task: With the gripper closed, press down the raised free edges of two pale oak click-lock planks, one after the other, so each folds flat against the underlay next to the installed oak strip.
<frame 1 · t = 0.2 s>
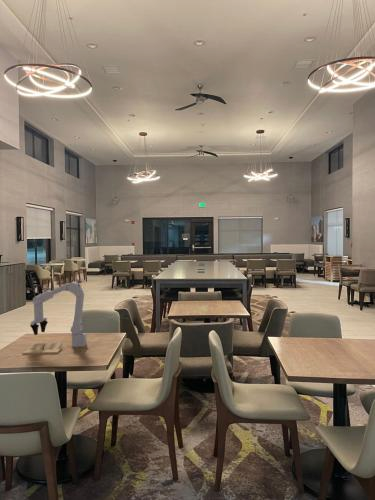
hand: (39, 333, 274), 10 cm above the table, fingers open, 7 cm apart
plank a: (53, 347, 266), point 2 cm above the table, hinge at 28.0°
plank b: (36, 347, 266), point 2 cm above the table, hinge at 28.0°
floor base: (43, 351, 264), on the table
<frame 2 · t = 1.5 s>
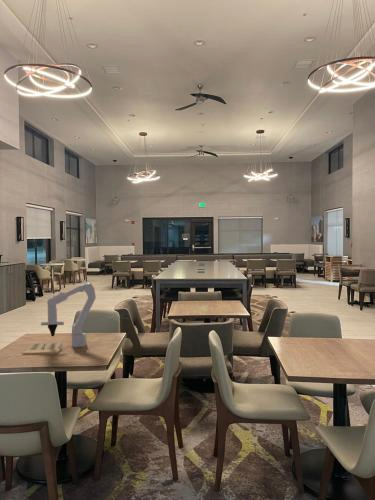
hand: (52, 335, 271), 9 cm above the table, fingers closed
nothing on the table moved.
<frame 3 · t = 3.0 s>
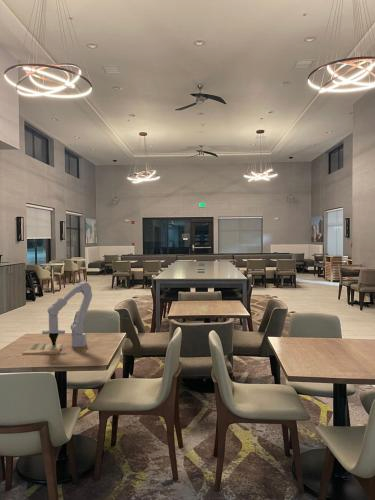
hand: (54, 344, 268), 3 cm above the table, fingers closed, pressing on plank a
plank a: (53, 347, 267), point 2 cm above the table, hinge at 19.5°, touching gripper
everything else where it was.
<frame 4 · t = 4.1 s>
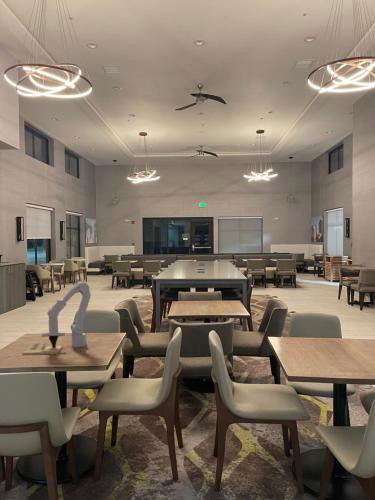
hand: (54, 347, 268), 2 cm above the table, fingers closed
plank a: (53, 348, 267), point 1 cm above the table, hinge at 2.1°
everything else where it was.
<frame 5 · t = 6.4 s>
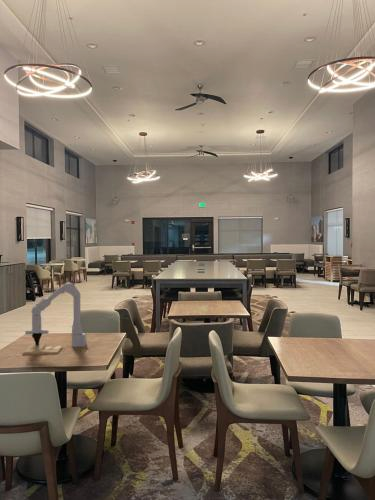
hand: (37, 344, 268), 4 cm above the table, fingers closed, pressing on plank b
plank b: (36, 347, 266), point 2 cm above the table, hinge at 23.5°, touching gripper
everything else where it was.
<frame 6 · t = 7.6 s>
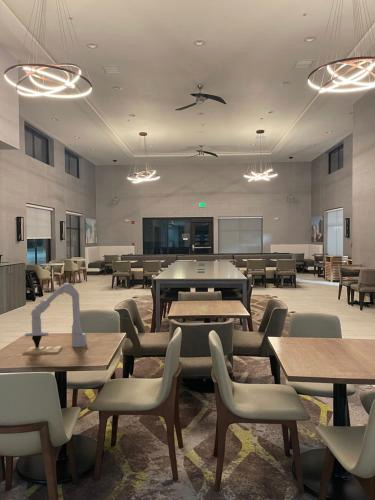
hand: (37, 347, 268), 2 cm above the table, fingers closed
plank b: (36, 348, 267), point 1 cm above the table, hinge at 3.4°
everything else where it was.
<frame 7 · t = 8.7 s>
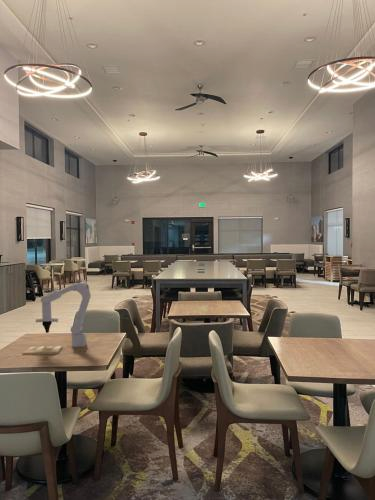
hand: (47, 332, 275), 10 cm above the table, fingers closed
nothing on the table moved.
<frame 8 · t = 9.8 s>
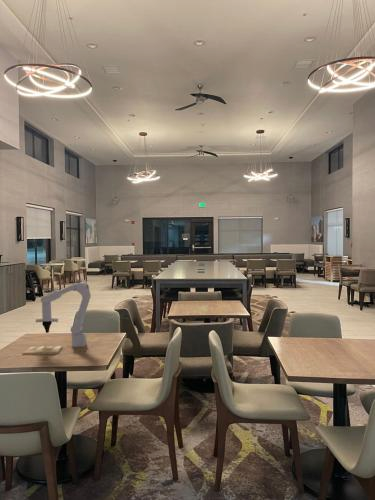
hand: (47, 332, 275), 10 cm above the table, fingers closed
nothing on the table moved.
at the end: plank a at +2° (first picture: +28°); plank b at +3° (first picture: +28°) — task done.
